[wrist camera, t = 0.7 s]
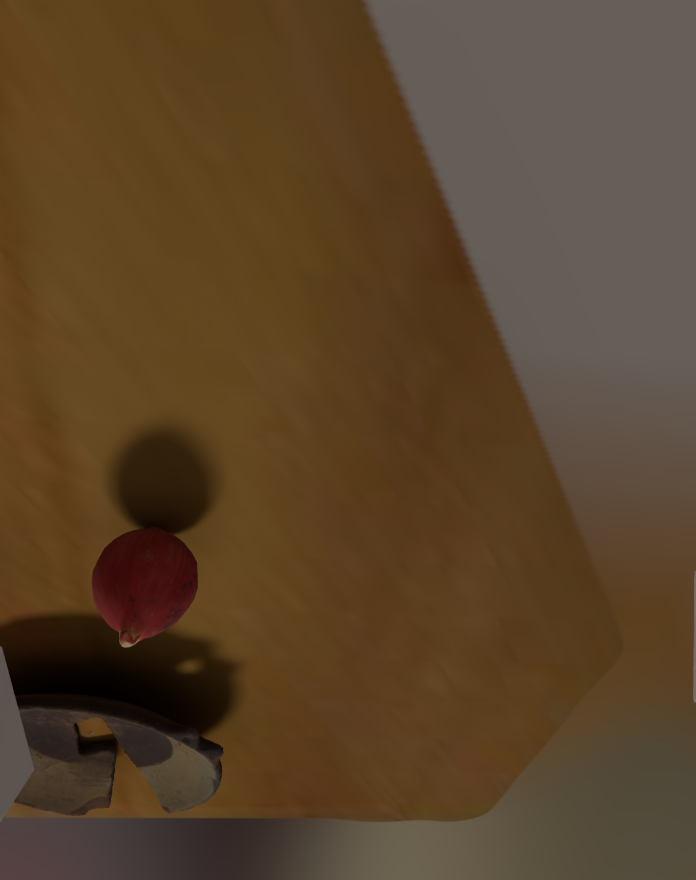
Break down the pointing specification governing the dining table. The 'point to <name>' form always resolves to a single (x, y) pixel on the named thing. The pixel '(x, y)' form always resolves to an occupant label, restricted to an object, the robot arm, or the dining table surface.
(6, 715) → the robot arm
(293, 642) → the dining table surface
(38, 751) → the broken bowl
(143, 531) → the onion
